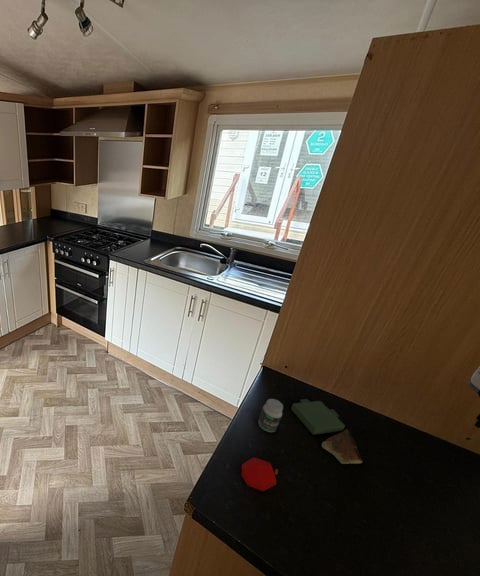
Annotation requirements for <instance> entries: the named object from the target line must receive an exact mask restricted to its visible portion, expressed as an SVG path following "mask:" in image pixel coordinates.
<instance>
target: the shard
mask: <svg viewBox="0 0 480 576" xmlns="http://www.w3.org/2000/svg"><path fill="white" fill-rule="evenodd" d="M321 447H322V449H324V450H326V451H327V452H328V453H330V454H332V455H333V456H334V457H335V459H336V460H337V461H338V462H339V463H340V464H341V465H349V464H351V465H353V464H357V465H359V464H362V463H363V458H362V456H361V454H360V453H359V449H358V447H357V444H356V442H355V439H354V438H353V436H352V434H351V431H350V429H349V428H346V429H344V430H343V431H340V432H338V433H336V434H334V435H332V436H330V437H328V438H327V439H326V440H324V441H322V443H321Z"/></svg>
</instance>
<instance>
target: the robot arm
mask: <svg viewBox="0 0 480 576" xmlns="http://www.w3.org/2000/svg"><path fill="white" fill-rule="evenodd" d="M467 386H468V387H469V388H470V389H471V390H472V391H474V392H475V393H476V394H478V397H479V398H480V365H479V366H478V368H477V369H476V370H475V371H474V373H473V374H472V376H471V378H470V381H469V382H468V383H467ZM475 420H476V422H475V423H474V426H475V427H476V428H478V429H480V413H478V415H477V416H476V417H475Z"/></svg>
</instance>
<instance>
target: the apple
mask: <svg viewBox="0 0 480 576" xmlns="http://www.w3.org/2000/svg"><path fill="white" fill-rule="evenodd" d="M278 472H279V469H278V468H275V469H273V466H272V463H271V462H270V461H266V460H263V459H260V458H258V457H252V458H250V459H248V460H247V461H245V462H243V463H241V473H240V475H241V477H242V479H243V481H244V482H245V484H246V486H248V487H251V488H253V489H256V490H258V491H260V492H265V491H267V490H268V489H271V488H272V487H275V486H276V485H277V478H276V475H278Z"/></svg>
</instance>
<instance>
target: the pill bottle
mask: <svg viewBox="0 0 480 576" xmlns="http://www.w3.org/2000/svg"><path fill="white" fill-rule="evenodd" d="M261 409H262V410H261V412H260V415H259V417H258V426H259V428H261V429H262V430H263V431H266V432H267V433H275V432H276V431H277V429H278V427H279V424H280V422H281V420H282V417H283V410H284V405H283V403H282V402H281V401H279V400H278V399H276V398H268V399H267V400H266V402H265V403H264V405H263V406H262V408H261Z"/></svg>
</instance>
